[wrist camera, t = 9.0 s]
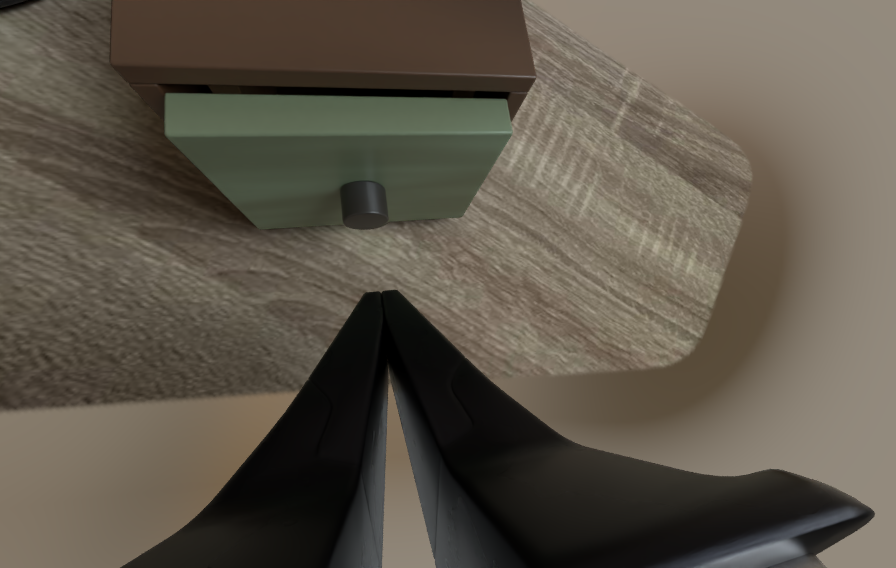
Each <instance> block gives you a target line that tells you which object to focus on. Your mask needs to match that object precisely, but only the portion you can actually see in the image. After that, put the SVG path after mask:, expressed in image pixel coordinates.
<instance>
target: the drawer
mask: <svg viewBox="0 0 896 568" xmlns="http://www.w3.org/2000/svg"><path fill="white" fill-rule="evenodd" d="M208 87H209V88H210V90H211V91H212V93H213V94H208V93H165V95H164V134H165V136H166V137H167V138H168V139H169V140H170V141H171V142H172V143H173V144H174V145H175V146H176V147H177V148H178V149H179V150H180V151H181V152H182V153H183V154H184V155H185V156H186V157H187V158H188V159H189V160H190V161H191V162H192V163H193V164H194V165H195V166H196V167H197V168H198V169H199V170H200V171H201V172H202V173H203V174H204V175H205V176H206V177H207V178H208V179H209V180H210V181H211V182H212V183H213V184H214V185H215V186H216V187H217V188H218V189H219V190H220V191H221V192H222V193H223V194H224V195H225V196H226V197H227V198H228V199H229V200H230V201H231V202H232V203H233V204H234V205H235V206H236V207H237V208H238V209H239V210H240V211H241V212H242V213H243V214H244V215H245V216H246V217H247V218H248V219H249V220H250V221H251V222H252V223H253V224H254V225H255V226H256V227H257V228H258V229H276V228H292V227H309V226H326V225H343V224H344V225H345V226H347V227H349V228H353V229H361V230H365V229H374V228H378V227H381V226H384V225H385V224H387V223H388V222H393V221H409V220H426V219H443V218H460V217H462V216H463V215H464V213H465V211H466V210H467V208H468V206H469V205H470V203H471V201H472V200H473V198H474V196H475V195H476V193H477V191H478V190H479V188H480V187H481V185H482V183H483V182H484V180H485V178H486V177H487V175H488V173H489V172H490V170H491V168H492V167H493V165H494V164H495V162H496V160H497V159H498V157H499V155H500V154H501V152H502V150H503V149H504V147H505V145H506V144H507V142H508V140H509V139H510V137H511V136H512V133H513V131H512V126H511V120H510V115H509V109H508V104H507V100H506V99H487V98H473V97H474V94H475V91H454V90H410V89H366V88H322V87H278V86H234V85H208Z"/></svg>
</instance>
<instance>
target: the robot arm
mask: <svg viewBox="0 0 896 568" xmlns="http://www.w3.org/2000/svg"><path fill="white" fill-rule="evenodd" d="M381 295H382V296H381ZM387 359H388V360H387ZM388 368H389V374H390V379H391V383H392V387H393V392H394V396H395V399H396V404H397V408H398V412H399V416H400V420H401V424H402V429H403V433H404V436H405V441H406V445H407V449H408V453H409V457H410V462H411V466H412V470H413V474H414V478H415V482H416V486H417V490H418V494H419V498H420V503H421V507H422V511H423V515H424V519H425V523H426V527H427V532H428V535H429V540H430V544H431V548H432V552H433V556H434V559H435V565H436V568H826V567H825V565H824V564H823V563H822V562H821V561H820V560H819V559H818V558H817V557H816V555H817V554H818V553H820V552H822V551H823V550H825V549H827V548H828V547H830V546H832V545H833V544H835V543H837V542H838V541H840V540H842V539H844V538H845V537H847V536H848V535H850V534H852V533H854V532H855V531H857V530H858V529H860V528H861V527H863V526H864V525H865V524H867V523H868V522H869V521H870V520H871V519H872V518H873V517H874V515H875V513H874V511H873V510H872V509H871V508H869V507H868V506H866V505H864V504H862V503H861V502H860V501H858V500H857V499H855V498H854V497H852V496H850V495H848V494H846V493H844V492H842V491H840V490H838V489H836V488H834V487H832V486H829V485H827V484H824V483H822V482H819V481H817V480H813V479H809V478H806V477H803V476H800V475H797V474H794V473H791V472H787V471H784V470H779V469H769V470H763V471H759V472H755V473H752V474H748V475H742V476H735V477H734V476H713V475H704V474H699V473H693V472H689V471H684V470H680V469H676V468H672V467H668V466H663V465H659V464H655V463H651V462H647V461H643V460H638V459H634V458H630V457H626V456H622V455H618V454H614V453H609V452H605V451H601V450H597V449H593V448H589V447H585V446H582V445H579V444H577V443H574V442H572V441H571V440H569V439H567V438H565V437H563V436H562V435H560V434H558V433H557V432H556V431H554V430H553V429H551V428H550V427H549V426H547V425H546V424H545V423H544V422H542V421H541V420H540V419H538V418H537V417H536V416H535V415H533V414H532V413H531V412H529V411H528V410H527V409H526V408H524V407H523V406H522V405H520V404H519V403H518V402H516V401H515V400H514V399H512V398H511V397H510V396H509V395H507V394H506V393H505V392H504V391H503V390H501V389H500V388H499V387H498V386H496V385H495V384H494V383H493V382H491V381H490V380H489V379H488V378H487V377H486V376H485V375H484V374H483V373H482V372H480V371H479V370H478V369H477V368H476V367H475V366H474V365H473V364H472V363H471V362H470V361H469V360H468V359H467V358H465V356H464V355H463V354H462V353H461V352H460V351H459V350H458V349H457V348H456V347H455V346H454V345H453V344H452V343H451V342H450V341H449V340H448V339H447V338H446V337H444V336H443V335H442V334H441V333H440V332H439V331H438V330H437V329H436V328H435V327H434V326H433V325H432V324H431V323H430V322H429V321H428V320H427V319H426V318H425V317H424V316H423V315H422V314H421V313H420V312H419V311H418V310H417V309H416V308H415V307H414V306H413V305H412V304H411V303H410V302H409V301H408V300H407V299H406V298H405V297H404V296H403V295H402V294H401V293H400V292H399V291H398V290H387V291H383V292H382V293H381V292H379V291H377V292H366V293H365V294H364V295H363V296H362V298H361V299H360V301H359V302H358V304H357V305H356V307H355V308H354V310H353V312H352V313H351V315H350V316H349V318H348V319H347V321H346V322H345V324H344V325H343V327H342V328H341V330H340V331H339V333H338V334H337V336H336V337H335V339H334V340H333V342H332V343H331V345H330V346H329V348H328V349H327V351H326V352H325V354H324V356H323V357H322V359H321V360H320V362H319V363H318V365H317V366H316V368H315V369H314V371H313V372H312V374H311V375H310V377H309V379H308V380H307V381H306V382H305V384H304V386H303V387H302V389H301V390H300V392H299V393H298V395H297V396H296V397H295V399H294V400H293V402H292V403H291V405H290V406H289V407H288V409H287V410H286V412H285V413H284V414H283V416H282V417H281V418H280V419H279V420H278V422H277V423H276V424H275V426H274V427H273V428H272V429H271V431H270V432H269V433H268V434H267V436H266V437H265V438H264V439H263V441H261V443H260V444H259V445H258V446H257V448H256V449H255V450H254V451H253V452H252V454H251V455H250V456H249V457H248V458H247V459H246V461H245V462H244V463H243V464H242V465H241V467H240V468H239V469H238V470H237V471H236V473H235V474H234V475H233V476H232V477H231V479H230V480H229V481H228V482H227V483H226V485H225V486H224V487H223V488H222V489H221V491H220V492H219V493H218V494H217V495H216V496H215V498H214V499H213V500H212V501H211V502H210V503H209V504H208V505H207V506H206V507H205V508H204V509H203V510H202V511H201V512H200V513H199V514H198V515H197V516H196V517H195V518H194V519H193V520H192V521H190V522H189V523H188V524H187V525H186V526H184V527H183V528H182V529H180V530H179V531H178V532H176V533H175V534H174V535H172V536H170V537H169V538H167V539H166V540H164V541H163V542H161V543H159V544H158V545H156V546H155V547H153V548H151V549H150V550H148V551H146V552H145V553H143V554H142V555H140V556H138V557H137V558H135V559H134V560H132V561H130V562H129V563H127V564H126V565H124V566H122V567H121V568H382V545H383V544H382V543H383V516H384V490H385V461H386V459H385V458H386V434H387V405H388Z"/></svg>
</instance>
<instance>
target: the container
mask: <svg viewBox="0 0 896 568" xmlns="http://www.w3.org/2000/svg"><path fill="white" fill-rule="evenodd" d="M23 1H26V0H0V8H1V7H5V6H9V5H13V4H17V3H21V2H23Z"/></svg>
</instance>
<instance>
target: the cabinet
mask: <svg viewBox="0 0 896 568" xmlns="http://www.w3.org/2000/svg"><path fill="white" fill-rule="evenodd" d="M110 64H111V66H112V67H113V68H114V69H115V70H116V71H117V72H118V73H119V74H120V75H121V76H122V77H123V78H124V80H125V81H126V82H128V83H130V86H131V87H132V88H133V89H134V90H135V91H136V92H137V93H138V94H139V95H140V96H141V98H142V99H143V100H144V101H145V102H146V103H147V104H148V105H149V106H150V107H151V108H152V109H153V110H154V111H155V112H156V113H157V114H158V116H159V117H160V118H161V119H162V120H163V121H164V95H165V93H208V94H213V93H212V91H211V90H210V88H209V87H208V85H234V86H278V87H322V88H366V89H410V90H454V91H475V94H474V97H473V98H487V99H506V100H507V104H508V109H509V115H510V120H511V122H512V120H513V118H514V117H515V115H516V113H517V111H518V110H519V108H520V106H521V104H522V103H523V101H524V99H525V97H526V96H527V92H528V91H529V90H530V88H531V87H532V85H533V83H534V81H535V80H536V72H535V67H534V62H533V57H532V52H531V47H530V43H529V38H528V33H527V28H526V23H525V18H524V13H523V8H522V3H521V0H112V5H111V35H110Z"/></svg>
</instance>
